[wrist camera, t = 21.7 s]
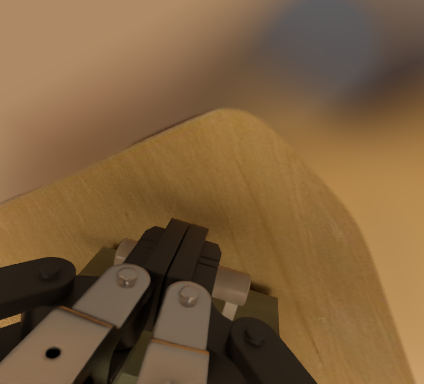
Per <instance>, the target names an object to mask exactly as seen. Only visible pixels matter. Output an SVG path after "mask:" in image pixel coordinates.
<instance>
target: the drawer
mask: <svg viewBox="0 0 424 384" xmlns="http://www.w3.org/2000/svg"><path fill="white" fill-rule="evenodd" d="M137 242H138V241H134V240H131V239H127V238H125V239H123V240H122V241H121V243H120V245H119V247H118V249H117V250H114V249H111V248H108V247H104V246H103V247H102V248H101V249H100V251H99V252H98V253H97V254H96V255H95V256H94V257H93V259H92V260H91V261H90V262H89V263H88V264H87V265H86V266H85V268H84V269H83V270H82V271H81V272H80V273H79V274H78V275H81V276H101V275H102V274H103V273H104V272H105V271H106V270H107V269H108V268H110V267H111V266H114V265H117V264H122V263H123V262H124V260H125V259H126V258H127V256H128V255H129V253H130V252H131V251H132V249H133V248H134V247H135V245H136V244H137ZM250 284H251V276H250V275H249V274H246V273H242V272H239V271H236V270H232V269H229V268H226V267H222V266H218V271H217V275H216V279H215V284H214V288H213V292H212V301H213V304H214V306H215V307H216V309H217V310H218V311H219V312H220V313H221V314H222V315H224V316H225V317H227V318H228V319H230V320H232V321H233V322H234V321H235V320H236V319H238V318H241V317H253V318H257V319H259V320H262V321H263V322H265V323H267V324H268V325H269V326H270V327H271V328H272V329H273V330H274V331H275V332H276V333H277V335H278V336H279V316H278V298H276V297H272V296H269V295H266V294H262V293H259V292H255V291H252V290H249V289H250ZM155 323H156V322H155ZM154 328H155V325H154V327H153V329H152V332H149V331H145V330H143V332H142V335H141V337H140V339H139V341H138V342H137V345H136V349H135V352H134V353H133V355H132V357H131V359H130V360H129V362H128V364H127V366H126V368H125V369H124V371H123V373H122V375H121V376H120V378H119V380H118V382H117V384H136V382H137V379H138V376H139V372H140V369H141V366H142V363H143V360H144V357H145V353H146V350H147V347H148V344H149V341H150V338H151V337H152V336H153V332H154ZM279 337H280V336H279Z"/></svg>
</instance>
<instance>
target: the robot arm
mask: <svg viewBox="0 0 424 384" xmlns="http://www.w3.org/2000/svg"><path fill="white" fill-rule="evenodd" d="M189 226H190V227H189ZM207 233H208V228H205V227H202V226H198V225H195V224H190V223H188V222H184V221H181V220H177V219H174V218H172V219H171V220H170V222H169V224H168V225H167V227H166V228H165V229H164V228H161V227H157V226H154V227H152V228H150V229H148V230H146V231H145V233H144V234H143V235H142V237H141V239H140V240H139V241H138V242H137V244H136V245H135V247H134V248H133V249H132V251H131V252H130V253H129V255H128V256H127V258H126V259H125V260H124V262H123V263H122V264H117V265H114V266H111V267H110V268H108V269H107V270H106V271H105V272H104V273H103V274H102V275H101V276H81V275H75V274H76V269H75V267H74V265H73V264H72V263H71V262H69V261H67V260H65V259H62V258H56V257H46V258H40V259H36V260H32V261H27V262H23V263H19V264H14V265H10V266H5V267H1V268H0V320H2V319H5V318H8V317H11V316H14V315H17V314H20V313H21V321H20V322H18V323H15V324H12V325H9V326H6V327H3V328H0V384H117V382H118V380H119V378H120V376H121V375H122V373H123V371H124V369H125V368H126V366H127V364H128V362H129V360H130V359H131V357H132V355H133V353H134V352H135V349H136V345H137V342H138V341H139V339H140V337H141V335H142V332H143V330H145V331H149V332H152V329H153V327H154V325H155V328H154V332H153V336H152V337H151V338H150V341H149V344H148V347H147V350H146V353H145V357H144V360H143V363H142V366H141V369H140V372H139V376H138V379H137V382H136V384H317V383H316V381H315V380H314V379H313V378H312V376H311V375H310V374H309V373H308V372H307V370H306V369H305V368H304V367H303V365H302V364H301V363H300V362H299V360H298V359H297V358H296V357H295V356H294V354H293V353H292V352H291V351H290V349H289V348H288V347H287V346H286V344H285V343H284V342H283V341H282V340H281V338H280V337H279V336H278V335H277V333H276V332H275V331H274V330H273V329H272V328H271V327H270V326H269V325H268V324H267V323H265V322H263V321H262V320H259V319H257V318H253V317H241V318H238V319H236V320H235V321H234V322H233V321H232V320H230V319H228V318H227V317H225V316H224V315H222V314H221V313H220V312H219V311H218V310H217V309H216V307H215V306H214V304H213V301H212V292H213V288H214V284H215V279H216V275H217V271H218V266H219V262H220V257H221V250H220V248H219V246H218V244H215V243H212V242H208V241H205V240H206V237H207ZM155 322H156V323H155Z"/></svg>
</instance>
